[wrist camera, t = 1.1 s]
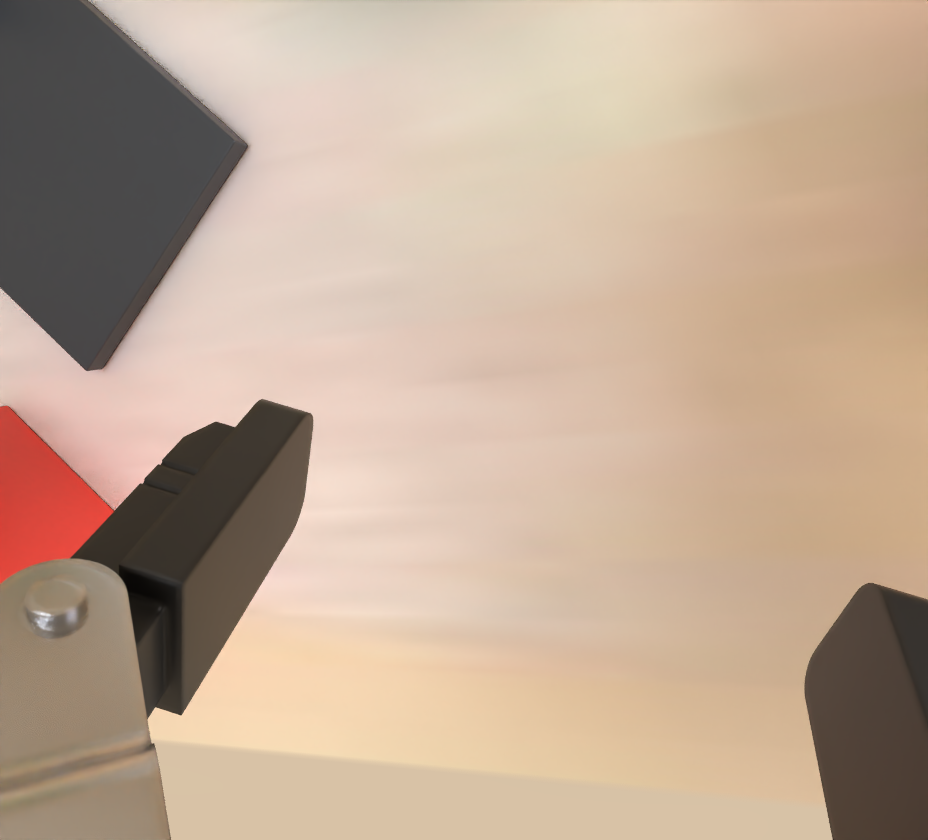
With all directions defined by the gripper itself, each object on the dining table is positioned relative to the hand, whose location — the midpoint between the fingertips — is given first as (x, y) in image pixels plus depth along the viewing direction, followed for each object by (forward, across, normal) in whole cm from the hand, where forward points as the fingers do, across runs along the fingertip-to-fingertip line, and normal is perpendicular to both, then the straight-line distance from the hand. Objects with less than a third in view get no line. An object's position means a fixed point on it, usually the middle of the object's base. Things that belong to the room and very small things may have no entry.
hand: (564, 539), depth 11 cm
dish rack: (+22, +27, +4) cm, 35 cm away
